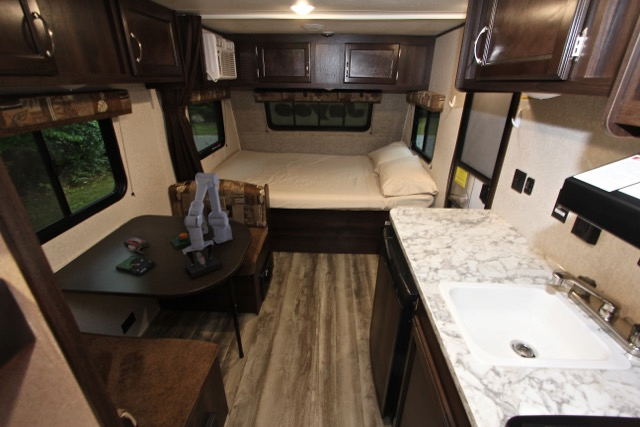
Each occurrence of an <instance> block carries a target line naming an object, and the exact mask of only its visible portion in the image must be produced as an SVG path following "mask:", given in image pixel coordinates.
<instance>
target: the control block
mask: <svg viewBox="0 0 640 427" xmlns="http://www.w3.org/2000/svg"><path fill="white" fill-rule="evenodd" d="M170 242H171V244H172V246H174V248H175V249H176V250H179V249H184V248H187V247H189V246H191V240H190V235H189V233H187V237H186V238H184V239H181V238H180V236H179V235H178V236H177V237H174V238H171V239H170Z"/></svg>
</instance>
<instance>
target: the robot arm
mask: <svg viewBox="0 0 640 427" xmlns="http://www.w3.org/2000/svg"><path fill="white" fill-rule="evenodd" d="M194 178H195V184H196V192H195V197H194V200H193V201H191V203H190V206H189V208H190V210H189V211H188V213H187V214H188V215H186V216H185V217H184V226H185V228H186V230H187V231H188V234H189V235H190V240H191V245H189V246H186V247H184V248H182V254H183V255H184V256H185V255H186V256H187V257H188V259H189V260H190V262H192V264H193V265H194V264H195V262H194V261H195V259H194V254H193V252H194V251H202V250H204V249H205V253H206V254H205V255H206V257H207V258H208V259H210V255H212V254H211V253H212V251H213V250H214V249H213V246H214V242H215V243H216V244H217V245H219V244H222V243H225V242H228V241H231V240H233V239H234V237H233V234H232V233H233V232H232V228H231V225H230V224H229V217H228V214H227V212H225V211H223V210H222V206H221V202H220V197H219V190H218V186H219V185H220V181H219V176H218V174H217V173H215V172H212V173H211V172H197V173H196V174H195V177H194ZM207 192H208V193H207ZM206 193H207V194H208V199H209V204H210V210H211V212H210V213H209V214H208V225H209V226H210V227H211V228H212V229H213V236H214V237H212V239H211V240H205V241H204V236H203V235H204V234H203V235H202V229H201V225H202V212H203V209H204V208H205V204H204V199H205V197H206Z"/></svg>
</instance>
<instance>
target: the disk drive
mask: <svg viewBox="0 0 640 427" xmlns="http://www.w3.org/2000/svg"><path fill="white" fill-rule="evenodd" d="M155 265H156V261H155V260H153V259H149V258H144V257H141V256H136V255H135V256H134V255H131V256H129V257H128V258H126V259H124V260H123V261H122V262H120V263H119V264H116V265H115V267H114V268H115V270H116V271H118V272H122V273H125V274H130V275H134V276H138V277H139V276H141V275H143V274H144V273H145V272H147V271H149V270H150V269H151V268H153V267H154V266H155Z"/></svg>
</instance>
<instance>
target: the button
mask: <svg viewBox="0 0 640 427" xmlns="http://www.w3.org/2000/svg"><path fill="white" fill-rule="evenodd" d="M187 234H188V233H187V232H182V233H180V234H178V236H180V238H181V239H184V238H186V237H187Z"/></svg>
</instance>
